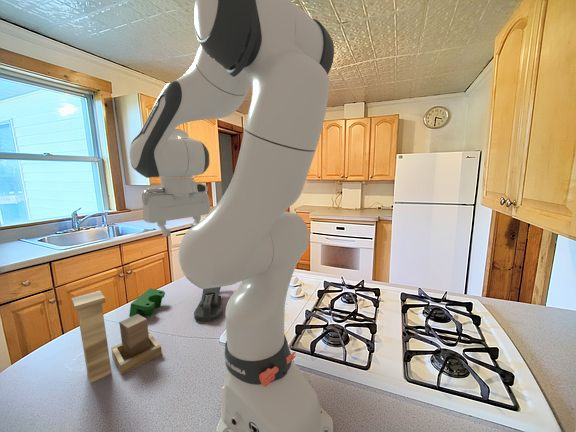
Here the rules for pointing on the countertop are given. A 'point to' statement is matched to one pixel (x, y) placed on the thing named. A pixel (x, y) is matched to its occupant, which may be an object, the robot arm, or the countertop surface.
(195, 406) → the countertop surface
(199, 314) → the zipper pull
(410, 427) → the countertop surface
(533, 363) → the countertop surface
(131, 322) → the wooden block
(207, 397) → the countertop surface
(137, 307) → the clamp
